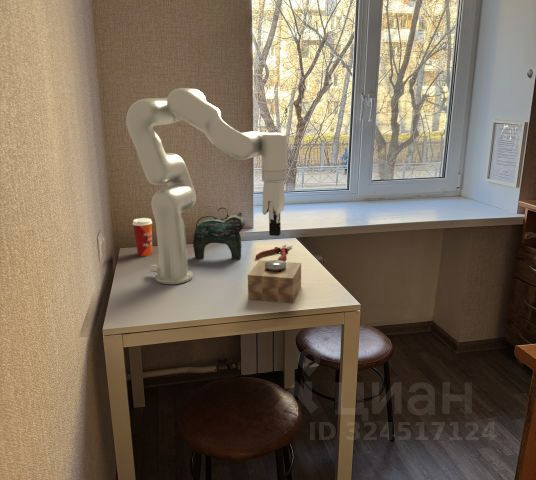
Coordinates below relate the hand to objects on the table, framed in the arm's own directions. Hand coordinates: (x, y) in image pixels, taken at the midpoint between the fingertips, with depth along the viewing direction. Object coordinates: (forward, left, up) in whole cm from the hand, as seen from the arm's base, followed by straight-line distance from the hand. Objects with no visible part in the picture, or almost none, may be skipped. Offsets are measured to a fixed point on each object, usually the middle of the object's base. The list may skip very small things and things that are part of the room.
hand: (274, 234), depth 151 cm
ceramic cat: (-29, +29, -19) cm, 45 cm away
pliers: (-6, +37, -20) cm, 43 cm away
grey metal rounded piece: (0, +1, -18) cm, 18 cm away
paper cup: (-60, +28, -19) cm, 69 cm away
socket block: (0, 0, -19) cm, 19 cm away
